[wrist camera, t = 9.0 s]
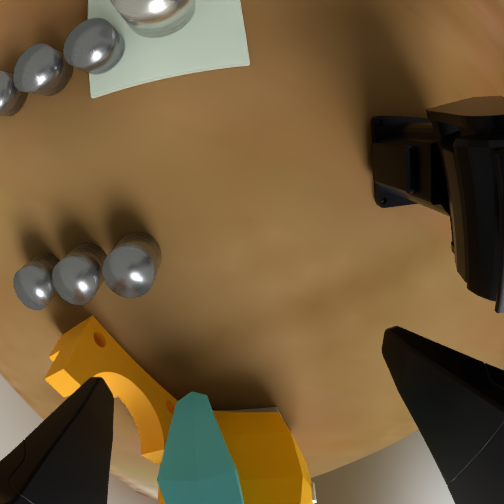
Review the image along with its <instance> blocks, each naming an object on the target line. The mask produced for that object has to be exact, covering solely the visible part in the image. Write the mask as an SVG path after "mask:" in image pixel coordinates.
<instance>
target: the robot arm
mask: <svg viewBox="0 0 504 504" xmlns="http://www.w3.org/2000/svg"><path fill="white" fill-rule="evenodd" d="M426 112H427V116H428V119H425V118H413V117H396V116H374V117H373V118H372V120H371V128H372V139H373V145H372V160H373V180H374V181H375V197H376V204H377V205H378V206H380V207H382V208H387V207H395V206H402V205H410V204H421V205H423V206H426V207H428V208H431V209H433V210H436V211H438V212H440V213H443V214H445V215H447V216H450V221H451V230H452V242H451V247H452V252H453V253H454V254H455V263H456V267H457V271H458V273H459V274H460V275H461V277H462V278H463V279H464V281H465V282H466V283H467V288H468V290H470V291H471V292H473V293H475V294H476V295H478V296H480V297H483V298H485V299H488V300H491V301H496V304H495V312H497V313H504V97H503V96H487V97H472V98H468V99H464V100H460V101H456V102H452V103H449V104H445V105H441V106H438V107H434V108H431V109H427V110H426ZM378 120H379V121H380V125H379V126H378V125H377V121H378ZM382 198H384V202H383V203H381V200H382ZM382 354H383V357H384V359H385V361H386V364H387V366H388V368H389V371H390V373H391V375H392V378H393V380H394V383H395V385H396V387H397V389H398V392H399V394H400V395H401V397H402V399H403V401H404V403H405V405H406V406H407V408H408V410H409V412H410V414H411V415H412V417H413V419H414V421H415V423H416V425H417V427H418V429H419V430H420V432H421V434H422V436H423V438H424V440H425V442H426V444H427V446H428V448H429V450H430V452H431V453H432V455H433V458H434V459H435V461H436V464H437V466H438V468H439V470H440V472H441V474H442V476H443V478H444V480H445V482H446V484H447V485H448V489H449V491H450V493H451V495H452V497H453V500H454V502H455V504H504V370H501V369H499V368H496V367H494V366H491V365H489V364H487V363H485V364H484V362H482V361H479V360H477V359H474V358H472V357H470V356H467V355H465V354H462V353H460V352H458V351H455V350H453V349H451V348H448V347H446V346H443V345H441V344H439V343H436V342H434V341H432V340H429V339H427V338H425V337H422V336H420V335H418V334H415V333H413V332H410V331H408V330H406V329H403V328H401V327H399V326H394V327H391V328H388V329H386V330H385V332H384V338H383V344H382ZM113 412H114V397H113V394H112V392H111V390H110V389H109V387H108V385H107V384H106V382H105V380H104V379H103V378H102V377H90V378H89V379H88V380H87V381H86V382H84V383H83V384H82V385H81V386H80V387H79V388H78V389H77V390H76V391H75V392H74V393H73V394H72V395H71V396H70V397H68V398H67V399H66V400H65V401H64V402H63V403H62V404H61V405H60V406H59V407H58V408H57V409H56V410H55V411H54V412H53V413H51V414H50V415H49V416H48V417H47V418H46V419H45V420H44V421H43V422H42V423H41V424H40V425H39V426H38V427H37V428H36V429H35V430H34V431H33V432H32V433H31V434H29V435H28V437H26V438H25V440H23V441H22V442H21V443H20V444H19V445H18V446H17V447H16V448H15V449H14V450H13V451H12V452H11V453H9V454H8V455H7V456H6V457H5V458H3V459H2V460H1V461H0V504H107V495H108V481H109V469H110V459H111V450H112V441H113Z"/></svg>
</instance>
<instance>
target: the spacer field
mask: <svg viewBox="0 0 504 504" xmlns="http://www.w3.org/2000/svg"><path fill="white" fill-rule="evenodd" d="M124 51H125V41H124V38H123V37H122V36H121V34H120V33H119V32H118V31H117V30H116V29H115V28H114V27H113V26H112V25H111V24H110V23H109V22H108V21H107V20H105V19H103V18H92V19H88V20H86V21H84V22H82V23H80V24H79V25H78V26H76V27H75V28H74V29H73V30H72V31H71V33H70V34H69V35H68V37H67V39H66V41H65V44H64V50H63V52H61V51H59V50H57V49H55V48H53V47H51V46H49V45H47V44H44V43H38V44H35V45H33V46H31V47H29V48H28V49H27V50H26V51H25V52H24V53H23V54H22V55H21V57H20V58H19V60H18V61H17V64H16V66H15V69H14V73H9V72H5V71H0V116H12V115H14V114H16V113H17V112H18V111H19V110H20V109H21V108H22V106H23V104H24V103H25V100H26V98H27V94H28V93H34V94H39V95H45V96H52V95H55V94H57V93H58V92H60V91H61V90H62V89H63V88H64V87H65V86H66V85H67V83H68V82H69V80H70V78H71V75H72V72H73V66H75V67H77V68H79V69H81V70H83V71H85V72H87V73H89V74H94V75H97V74H102V73H105V72H107V71H109V70H111V69H112V68H113V67H115V66H116V65H117V64H118V62H119V61H120V60H121V58H122V56H123V54H124ZM160 263H161V251H160V248H159V246H158V244H157V242H156V241H155V240H154V239H153V238H152V237H150V236H149V235H147V234H144V233H139V232H135V233H130V234H128V235H126V236H125V237H123V238H122V239H121V241H120V242H119V243H118V244H117V245H116V246H115V248H114V249H113V250H112V251H111V252H110V253H109V255H108V256H107V257H106V255H105V254H104V252H103V251H102V250H101V249H100V248H99V247H97V246H96V245H93V244H90V243H82V244H79V245H78V246H76V247H75V248H74V249H73V250H72V251H71V252H69V253H68V254H67V255H66V256H65V257H64V258H63V259H62V260H61V261H59V260H58V259H57V258H56V257H55V256H53V255H52V254H49V253H40V254H38V255H37V256H36V257H34V258H33V259H32V260H31V261H29V262H28V263H27V264H26V265H24V266H23V267H22V268H21V269H20V270H18V271H17V272H16V274H15V276H14V289H15V292H16V294H17V296H18V298H19V299H20V300H21V302H22V303H23V304H24V305H25V306H27V307H28V308H30V309H32V310H42V309H43V308H45V306H46V305H47V304H48V303H49V302H50V300H51V299H52V298H53V297H54V296H55V295H56V293H57V292H58V294H59V295H60V296H61V297H62V298H63V299H64V300H65V301H67V302H69V303H71V304H74V305H84V304H87V303H88V302H89V301H90V300H91V299H92V298H93V296H94V295H95V293H96V292H97V290H98V289H99V287H100V286H101V284H102V283H103V282H104V280H105V281H106V283H107V285H108V286H109V287H110V289H111V290H113V291H114V292H115V293H116V294H118V295H120V296H123V297H127V298H136V297H140V296H142V295H144V294H145V293H146V292H147V291H148V290H149V289H150V287H151V286H152V283H153V280H154V278H155V275H156V273H157V270H158V268H159V265H160Z"/></svg>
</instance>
